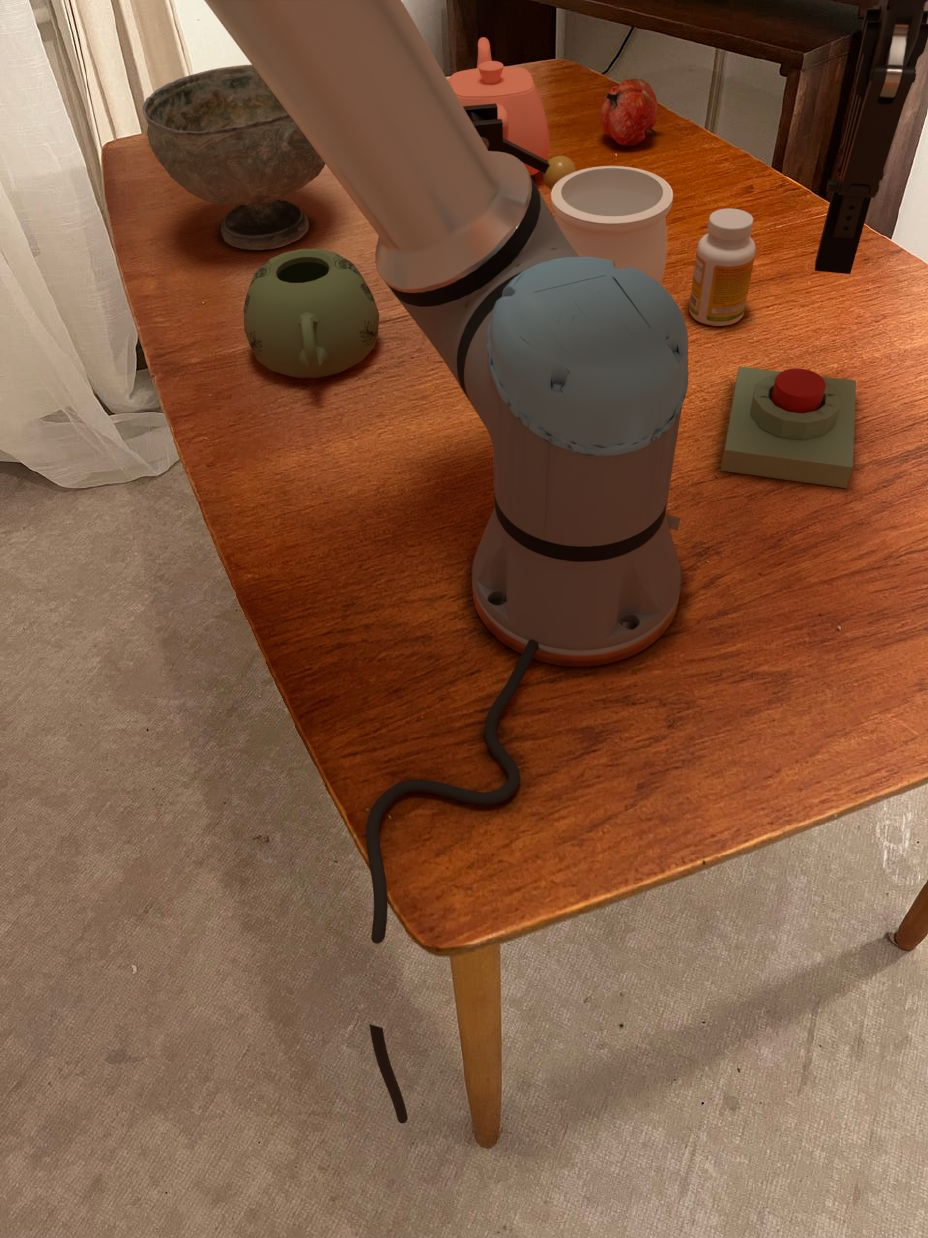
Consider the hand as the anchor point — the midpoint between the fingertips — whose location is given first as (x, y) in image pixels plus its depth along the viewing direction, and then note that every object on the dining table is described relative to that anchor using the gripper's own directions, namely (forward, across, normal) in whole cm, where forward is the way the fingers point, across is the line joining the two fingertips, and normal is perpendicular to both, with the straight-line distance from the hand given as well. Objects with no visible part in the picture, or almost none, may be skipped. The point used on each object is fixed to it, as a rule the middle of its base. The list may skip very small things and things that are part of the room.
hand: (832, 267), depth 78 cm
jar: (+13, +5, +18) cm, 23 cm away
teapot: (+13, +40, +38) cm, 57 cm away
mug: (+13, -2, +45) cm, 47 cm away
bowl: (+13, +21, +61) cm, 66 cm away
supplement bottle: (+13, +13, +8) cm, 20 cm away
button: (+9, -5, +1) cm, 10 cm away
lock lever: (+6, +25, +32) cm, 41 cm away
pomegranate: (+13, +51, +23) cm, 57 cm away
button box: (+13, -5, +1) cm, 14 cm away
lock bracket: (+13, +24, +35) cm, 45 cm away
